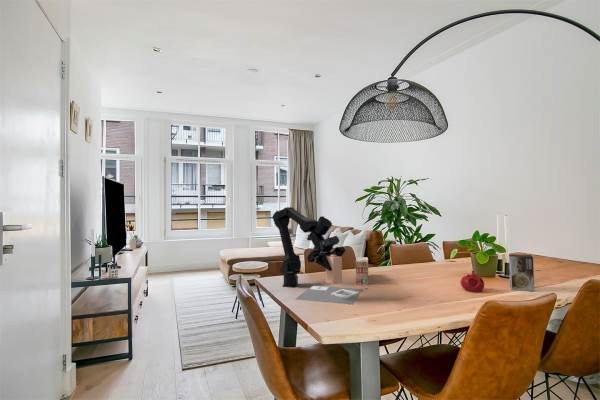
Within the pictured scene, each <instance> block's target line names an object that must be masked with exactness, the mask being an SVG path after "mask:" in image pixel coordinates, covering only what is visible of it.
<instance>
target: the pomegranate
mask: <svg viewBox="0 0 600 400" xmlns="http://www.w3.org/2000/svg"><path fill="white" fill-rule="evenodd" d="M474 273H475V270H471V273H470V272H468V273H467V272H466V273H465V275H464V276H462V278H461V280H460V285H461V287H462V289H463V290H465V291H467V292H471V293H478V292H479V293H481V292H482V291H483V290H484V288H485V283H484V280H483V278H482V276H480V275H479V273H475V274H474Z"/></svg>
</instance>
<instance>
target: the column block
mask: <svg viewBox="0 0 600 400" xmlns="http://www.w3.org/2000/svg"><path fill="white" fill-rule="evenodd" d="M326 259H327V261H328V263H329V264H330V266H331V268H332V271H329V270H328V269H326V268H325V283H328V284H331V285H336V284H341V283H343V257H342V256H341V257H340V256H336V255H331V256H326Z"/></svg>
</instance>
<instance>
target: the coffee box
mask: <svg viewBox="0 0 600 400" xmlns="http://www.w3.org/2000/svg"><path fill="white" fill-rule="evenodd" d="M508 267H509V272H508V273H509V287H510V289H511V290H513V291H520V292H521V291H524V292H535V273H534V271H535V270H534V269H535V268H534V267H535V266H534V257H533V256H532V254H514V253H509V254H508Z"/></svg>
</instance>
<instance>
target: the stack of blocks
mask: <svg viewBox="0 0 600 400" xmlns="http://www.w3.org/2000/svg"><path fill="white" fill-rule="evenodd" d="M355 284H356V285H359V286H362V285H363V286H368V285H369V258H368V257H367V256H366V257H364V256H363V257H362V256H361V257H359V256H358V257H357V256H356V260H355Z"/></svg>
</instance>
